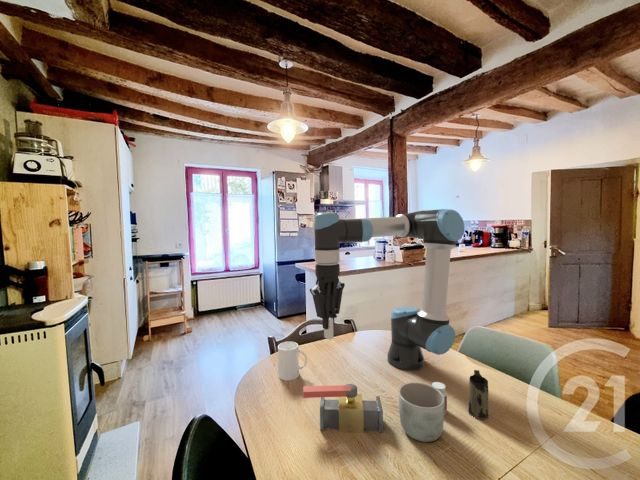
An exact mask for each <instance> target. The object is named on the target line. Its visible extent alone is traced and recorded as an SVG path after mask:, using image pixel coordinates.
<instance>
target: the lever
mask: <svg viewBox="0 0 640 480" xmlns="http://www.w3.org/2000/svg"><path fill="white" fill-rule="evenodd" d="M357 394H358V387H357V385H355V384H353V383H346V384H344V385H343V384H342V385H341V384H338V385H308V386H307V385H306V386H303V387H302V395H303V396H302V397H303V399H308V398H310V399H311V398H314V399H315V398H321V397H325V398H339V397H349V398H353V397H356V396H357Z"/></svg>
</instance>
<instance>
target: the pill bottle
mask: <svg viewBox="0 0 640 480" xmlns="http://www.w3.org/2000/svg"><path fill="white" fill-rule="evenodd" d="M431 386H433V387H435V388H436V389H438V390H439V391H440V392H441V393H442V394H443V396H444V398H445V406H444V416H445V415H446V414H447V412H448V410H447V409H448V405H447V404H448V401H447V400H448V399H447V398H448V393H447V389H446V384H444V383H443V382H439V381H434V382H432V384H431Z"/></svg>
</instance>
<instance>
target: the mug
mask: <svg viewBox="0 0 640 480" xmlns="http://www.w3.org/2000/svg"><path fill="white" fill-rule="evenodd" d="M299 353H301V354H302V355H303V356H304V359H305V362H304V364H302V365H301V366H300V365H299V360H300V359H299ZM307 362H308V357H307V355H306V353H305V352H304V351H303V350H301V349H300V348H299V343H297V342H295V341H284V342H283V341H282V342H281V343H279V344H278V345H277V363H278V364H277V367H278V368H277V369H278V371H277V377H278V379H280V380H282V381H287V382H289V381H293V380H296V379H297V378H299V376H300V370H301V369H304V368H305V367H306V364H307Z"/></svg>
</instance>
